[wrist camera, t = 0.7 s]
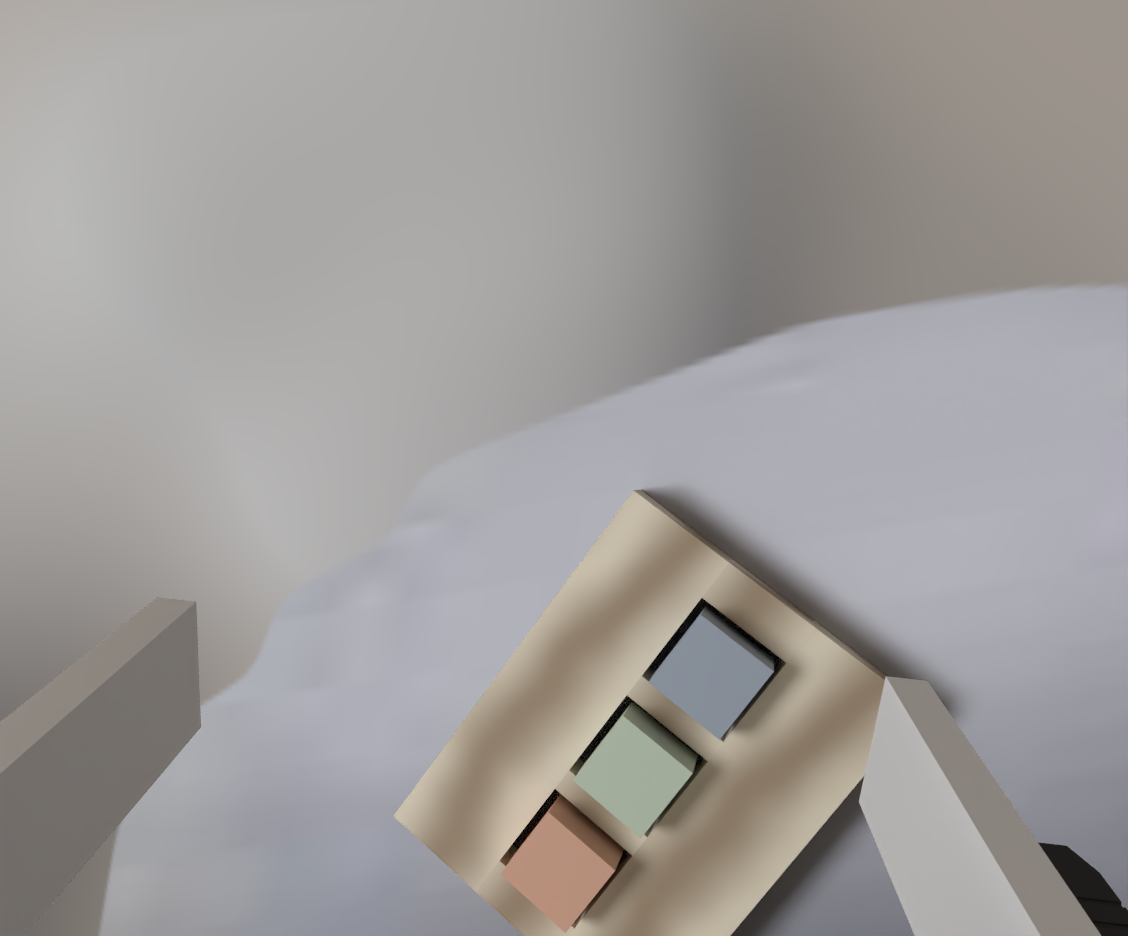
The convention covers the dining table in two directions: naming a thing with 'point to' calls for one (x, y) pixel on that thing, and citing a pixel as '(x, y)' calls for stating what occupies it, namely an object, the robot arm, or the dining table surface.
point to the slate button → (713, 673)
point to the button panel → (729, 766)
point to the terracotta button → (563, 863)
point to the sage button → (636, 769)
